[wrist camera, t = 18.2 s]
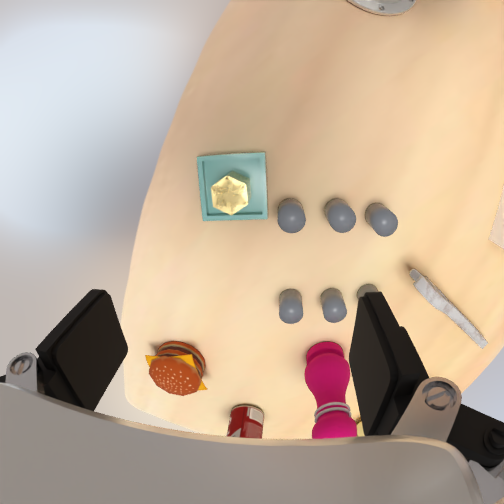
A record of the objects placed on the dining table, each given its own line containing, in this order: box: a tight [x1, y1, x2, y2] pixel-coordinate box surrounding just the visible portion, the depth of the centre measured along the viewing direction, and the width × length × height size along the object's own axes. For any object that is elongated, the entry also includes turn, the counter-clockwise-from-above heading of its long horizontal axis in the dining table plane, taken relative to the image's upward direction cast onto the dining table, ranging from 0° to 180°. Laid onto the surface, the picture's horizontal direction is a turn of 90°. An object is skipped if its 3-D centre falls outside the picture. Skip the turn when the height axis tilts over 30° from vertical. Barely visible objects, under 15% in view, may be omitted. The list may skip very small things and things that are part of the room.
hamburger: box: [145, 341, 207, 396], centre depth 47 cm, size 9×10×7 cm
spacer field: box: [278, 199, 398, 324], centre depth 37 cm, size 16×15×4 cm
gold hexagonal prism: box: [211, 171, 251, 215], centre depth 34 cm, size 5×4×4 cm
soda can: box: [227, 405, 264, 439], centre depth 49 cm, size 7×7×12 cm
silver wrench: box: [409, 269, 488, 349], centre depth 38 cm, size 8×2×30 cm
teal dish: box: [197, 152, 268, 221], centre depth 36 cm, size 8×8×2 cm
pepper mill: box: [304, 342, 357, 439], centre depth 37 cm, size 7×7×20 cm
